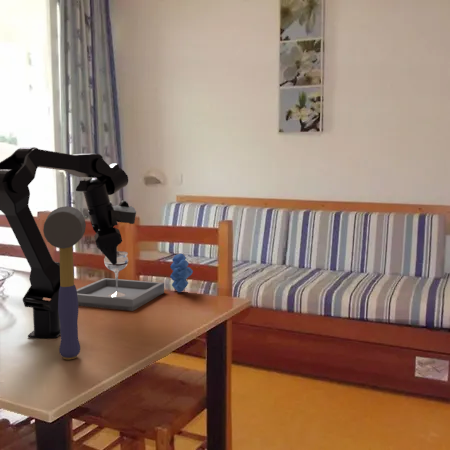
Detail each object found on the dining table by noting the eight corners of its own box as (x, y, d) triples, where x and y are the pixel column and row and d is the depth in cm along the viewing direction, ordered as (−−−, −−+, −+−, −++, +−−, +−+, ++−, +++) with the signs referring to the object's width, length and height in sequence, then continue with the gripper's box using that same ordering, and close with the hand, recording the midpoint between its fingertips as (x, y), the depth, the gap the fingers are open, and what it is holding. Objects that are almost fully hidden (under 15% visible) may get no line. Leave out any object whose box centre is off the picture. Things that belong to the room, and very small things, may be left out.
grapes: (200, 295, 149) (200, 254, 147) (178, 297, 146) (177, 256, 145) (186, 286, 159) (186, 248, 158) (166, 288, 157) (165, 250, 155)
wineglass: (110, 291, 149) (108, 250, 147) (132, 292, 148) (131, 251, 146) (101, 297, 142) (99, 255, 141) (124, 298, 141) (123, 255, 140)
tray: (132, 310, 133) (132, 299, 132) (66, 304, 139) (66, 293, 138) (164, 292, 152) (164, 282, 151) (104, 287, 158) (104, 278, 157)
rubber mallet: (53, 348, 106) (48, 204, 102) (90, 345, 107) (86, 204, 104) (46, 372, 94) (39, 210, 90) (88, 368, 95) (83, 209, 92)
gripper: (135, 205, 121) (148, 262, 128) (124, 184, 138) (136, 235, 144) (88, 217, 119) (104, 275, 125) (83, 194, 135) (97, 246, 142)
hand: (112, 256), depth 134 cm, fingers open, 9 cm apart
